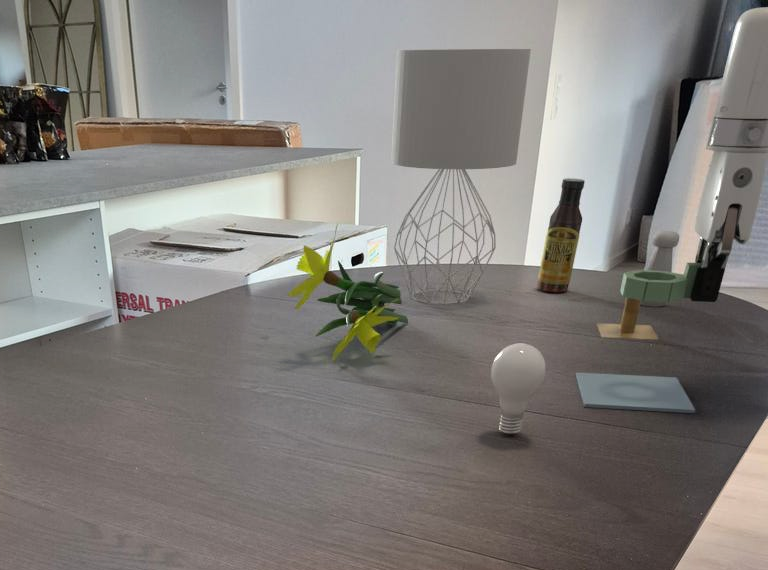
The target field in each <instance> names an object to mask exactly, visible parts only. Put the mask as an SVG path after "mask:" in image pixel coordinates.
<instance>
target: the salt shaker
mask: <svg viewBox="0 0 768 570" xmlns="http://www.w3.org/2000/svg"><path fill="white" fill-rule="evenodd" d="M679 242H680V234H679V233H678V232H677V231H674V230H660V231H657V232H656V233H654V235H653V238H652V245H653V246H654V248H653V250H652V254H651V257H650V259H649V261H648V264H647V266H646V269H645V270H656V271H667V272H672V271H673V249H674V248H676V247H677V246H678V245H679ZM672 273H673V272H672ZM666 304H667V302H649V301H641V303H640V306H645V307H652V308H656V307H664V306H665V305H666Z"/></svg>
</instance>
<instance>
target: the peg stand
mask: <svg viewBox="0 0 768 570" xmlns="http://www.w3.org/2000/svg"><path fill="white" fill-rule="evenodd" d="M624 301H625V302H624V306H623V311H622V316H621V319H620V323H599V322H597V323H596V326H597V329H598V331H599V334H600V336H601V338H610V339H611V338H612V339H613V338H614V339H635V340H637V339H638V340H656V341H657V340H659V341H660V339H659V337H658V335H657V333H656V331H655V330H654V328H653V327H652V325H650V324H648V325H647V324H637V322H638V317H639V312H640V309H641V305H640V303H641V301H640V300H636V299H631V298H627V297H625V300H624Z"/></svg>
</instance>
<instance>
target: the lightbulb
mask: <svg viewBox="0 0 768 570" xmlns="http://www.w3.org/2000/svg"><path fill="white" fill-rule="evenodd" d="M546 374H547V363H546V360H545V357H544V355H543V354H542V353H541V351H540V350H539V349H538V348H536V347H535V346H533V345H532V344H528V343H522V342H520V343H519V342H518V343H513V344H510V345H507V346H506V347H504V348H502V349H501V350H500V351H499V352H498V353H497V355H496V356H495V358H494V360H493V362H492V364H491V369H490V377H491V378H490V379H491V382H492V385H493V387H494V390H495V392H496V393H497V395H498V400H499V409H500V419H499V421H500V422H499V426H498V427H499V428H498V430H499V431H500V432H501V433H502V434H504V435H505V436H509V437H510V436H514V435H517V434H518V433H520V432H521V431H522V426H523V425H522V424H523V420H524V419H523V418H524V413H525V411H526V410H527V408H528V405H529V403H530V401H531V399H532V397H533V396H534V395H535V394H536V393H537V391H538V390H539V389H540V388H541V386H542V385H543V383H544V381H545V378H546Z"/></svg>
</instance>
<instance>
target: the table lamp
mask: <svg viewBox="0 0 768 570" xmlns="http://www.w3.org/2000/svg"><path fill="white" fill-rule="evenodd" d="M531 51H532V48H468V49H467V48H462V49H460V48H458V49H457V48H455V49H454V48H453V49H452V48H451V49H450V48H449V49H445V48H444V49H399V50H396V63H395V81H394V83H395V84H394V101H393V116H392V117H393V119H392V137H391V139H392V140H391V155H390V164H392V165H394V166H399V167H406V168H412V169H413V168H415V169H429V170H431V169H432V170H437V171H436V172H435V173H434V175H433V176H432V177H431V179H430V181H429V182H428V183H427V185H426V186H425V187H424V189H423V190H422V192H421V193H420V195H419V196H418V198H417V199H416V200H415V202H414V203H413V204H412V206H411V208H410V209H409V210H408V212H407V213H406V214H405V216H404V218H403V220H402V222H401V225H400V227H399V229H398V231H397V234H396V238H395V242H394V247H393V249H394V253H395V256H396V259H397V261H398V265H399V268H400V270H401V273H402V276H403V279H404V281H405V284H406V287H407V290H408V292H409V296H410V298H412V299H413V300H415V301H417V302H420V303H425V304H431V305H432V304H433V305H456V304H461V303H464V302H467V301H468V302H469V299H470V297H471V296H472V294H473V292H474V290H475V288H476V287H477V285H478V283H479V281H480V279H481V277H482V275H483V274H484V272H485V270H486V268H487V266H488V264H489V263H490V260H491V258H492V257H493V254H494V252H495V250H496V233H495V228H494V225H493V224H494V223H493V221H492V217H491V214H490V213H489V211H488V209H487V208H486V205H485V203H484V202H483V199H482V198H481V196H480V194H479V192H478V190H477V189H476V186H475V185H474V182H473V180H472V179H471V178H470V176H469V175H470V174H468V172H467V170H486V169H500V168H508V167H513V166H516V165H517V160H518V153H519V144H520V138H521V137H520V136H521V128H522V123H523V122H522V121H523V114H524V104H525V97H526V90H527V81H528V74H529V68H530V67H529V66H530V57H531ZM445 170H446V171H445ZM444 171H445V174H444V177H443V180H442V184H441V187H440V190H439V193H438V197H437V200H436V203H435V206H434V209H433V213H432V216H431V217H430V218H428V219H426V221H424V222H422V224H420V222H421V219H422V216H423V213H424V210H425V209H426V207H427V205H428V202H429V201H430V199H431V197H432V195H433V193H434V191H435V189H436V187H437V185H438V184H439V181H440V179H441V177H442V175H443V173H444ZM451 171H452V216H451V215H450V214H449V213H448V212H447V211H446V210H444V206H445V201H446V196H447V192H448V186H449V180H450V176H451ZM455 171H456V178H457V184H458V191H459V197H460V203H461V204H460V205H461V210H462V223H460V222H459V221H458V220H456V219H455ZM447 174H448V175H447ZM462 174H463V175H462ZM459 176H460V177H459ZM463 177H464V178H463ZM446 178H447V181H446V185H445V192H444V197H443V202H442V205H441V206H442V207H441V209H440V210H439V211H438V212H437V213H436V210H437V207H438V203H439V201H440V197H441V194H442V191H443V188H444V184H445V180H446ZM460 179H461V182H462V186H463V189H464V193H465V196H466V200H467V203H468V207H469V209H470V214H471V217H472V219H470V220H469V221H468V222H467V223H466V224H465V211H464V204H463V197H462V190H461V185H460V183H461V182H460ZM464 179H465V182H466V184H467V187H468V189H469V191H470V194H471V196H472V198H473V201H474V203H475V206H476V208H477V210H478V213H477V214H476V215H475V216H474V213H473V210H472V206H471V203H470V199H469V195H468V192H467V188H466V185H465V182H464ZM432 182H433V184H432ZM431 184H432V185H431ZM430 185H431V187H430ZM429 187H430V189H429V190H428V193H427V194H426V196H425V198H424V199H423V201H422V203H421V205H420V207H419V208H418V210H417V212H416V214H415V215H414V217H413V216H412V214H411V213H412V211H413V210H414V208H415V207H416V206H417V204H418V203H419V201H420V199H422V197H423V196H424V194H425V192H426V191H427V189H428V188H429ZM428 196H429V197H428ZM478 204H479V205H478ZM479 206H480V208H481V210H482V212H483V214H484V215H483V214H482V212H481V210H480V208H479ZM421 209H422V210H421ZM420 211H421V212H420ZM419 213H420V216H419V219H418V222H416V220H415V219H416V218H417V217H418V214H419ZM443 213H444V214H445V215H446V216H447V217H449V218H450V219H452V222H451V223H450V224H449V225H447V226H446V227H445V228H443V229H441V226H442V225H441V224H442V218H443ZM439 214H440V219H439V224H438V225H439V226H438V233H436V234H435V235H434V236H433V237H431V238H429V235H430V232H431V227H432V224H433V219H434V217H436V216H437V215H439ZM478 216H479V217H480V222H481V227H482V229H481V232H480V233H479V236H478V232H477V225H476V220H475V219H476V218H477V217H478ZM484 216H485V217H484ZM409 217H410V219H411V221H410V222H409V223H408V224H407V225H406V223H407V221H408V219H409ZM429 221H430V224H429V227H428V232H427V236H426V237H425V235H424V234H423V232H422V230H421V229H420V228H421V227H422V226H424V225H425V224H426V223H428V222H429ZM472 222H473V226H474V232H475V238H474V237H473V236H471V235H470V234H469V233H468V232H467V231H465V228H466V227H467V226H469V224H470V223H472ZM413 225H414V226H415V229H416V230H415V236H414V241H413V242H412V245H411V247H410V250H409V252H408V255H407V257H406V247H407V242H408V238H409V235H410V232H411V230H412V227H413ZM486 225H487V227H488V228H489V232H490V237H491V249H490V251H488V252H487V253H486V254H484V255H483V256H482V257H481V258H480V259H479V257H480V255H481V252H482V251H483V248H484V245H485V227H486ZM409 226H410V227H409ZM451 226H452V241H451V249H449V251H446V252H445V253H444V254H443V255H442V256H441V257H439V253H440V250H439V249H440V235H441V233H443V232H444V231H446V230H447V229H448V228H449V227H451ZM455 226H456V227H457V228H458V229H459V230H461V231H462V240H460V242H458V243H457V244H456V245H454V243H455V242H454V241H455V240H454V239H455ZM408 227H409V229H408V232H407V235H406V237H405V241H404V247H403V250H402V247H401V240H402V239H401V238H402V234H403V231H405V229H406V228H408ZM418 231H419V233H420V235H421V237H422V238H423V240H424V241H425V246H423V245H422V244H421V243H420V242H419V241H418V240H417V234H418ZM465 235H467V236H468V237H469V238H470V239H472V240H473V242H474V243H476V255H475V256H474V257H473V255H472V254H471V252H470V250H469V248H468V246H467V244H466V242H465ZM436 237H437V258H436V256H435V255H433V254H432V253H431V252H430V251H429V250H428V249H427V248H428V243H429V242H430V241H432V240H433V239H435V238H436ZM481 237H482V245H481V248H480V250H479V241H480V239H481ZM398 238H399V239H398ZM397 242H398V247H399V250H400V253H399V252H398V250H397V248H396V246H397ZM417 244H418V245H419V247H421V248H422V249H423V250H424V256H423V257H422V258H421V259H419V253H418V247H417V246H418V245H417ZM459 245H461V246H460V249H459V254H458V259H457V262H456V267H455V271H454V272H453V273H451V268H452V263H453V255H454V249H456V248H457V247H458V246H459ZM414 246H415V254H416V259H417V263H416V265H415V266H413V268H411V270H410V268H409V265H408V260H409V258H410V255H411V253H412V250H413V248H414ZM463 246H465V249H466V250H467V252H468V254H469V256H470V260H469V261H467V262H466V263H465V264H463V265H461V267H459V263H460V259H461V254H462V249H463ZM450 252H451V257H450V263H449V269H448V275H447V273H445V272H444V269H443V268H442V265H441V263H440V260H442V259H443V258H444V257H445V256H447V255H448V254H449V253H450ZM400 254H401V255H400ZM427 254H429V255H430V256H431V257H432V258H433V259H435V260H436V262H435V263H434V262H433V261H431V259H429V258H428V257H427ZM489 254H490V255H489ZM488 255H489V258H488V259H487V261H486V263H485V265H484V267H483V269H482V265H481V261H482V260H483V259H484V258H486V257H487V256H488ZM422 261H424V273H425V286H424V283H423V277H422V272H421V266H420V263H421V262H422ZM427 261H428V262H429V263H430V264H432V266H433V268H432V271H431V273H430V275H429V277H428V271H427ZM471 262H473V264H472V266H471V267H470V269H468V271H467V272H466V273H465V274H464V275H463V276H462V277H461V278H460V280H458V282H457V283H456V284H455V279H456V275H457V273H458V272H459V271H460V270H461V269H463V268H465V267H466V266H467V265H469V264H470V263H471ZM401 263H402V264H401ZM477 264H478V266H479V269H480V272H481V273H480V274H479V275H478V277H477V278H476V279H475V280H474V275H475V271H476V266H477ZM402 265H403V267H404V270H405V273H404V270H403V267H402ZM416 267H418V271H419V279H420V283H419V282H418V280H417V279H416V277H415V276H414V274H413V273H412V272H413V271H414V270H415V269H416ZM458 267H459V268H458ZM435 269H436V289H429V281H430V279H431V278H432V275H433V273H434V271H435ZM439 271H440V273H441V274H442V275H443V277H444V279H445V280H444V282H443V283H442V284H441V285H440V286H439V288H438V284H439ZM450 273H451V274H450ZM405 275H406V276H405ZM467 275H468V277H467ZM452 276H453V279H452V281H451V277H452ZM465 277H467V279H466V281H465V283H464V287H463V289H462V291H457V290H456V291H455V288H456V287H457V286H458V285H459V284H460V283H461V282H462V281H463V279H464V278H465ZM471 277H472V278H471ZM470 279H471V281H470ZM469 281H470V287H469V288H468V289H467V290H466V288H467V286H468V284H469ZM473 281H474V282H473ZM413 282H414V283H413ZM445 284H446V287H445V289H442V287H443V286H445ZM454 284H455V285H454ZM414 285H416V287H417V288H418V289H419V291H416V289H415V286H414ZM448 288H449V289H448ZM465 291H466V292H465ZM430 292H435V293H434V294H433V295H432V297H431V299H430ZM438 292H445V293H444V299H443V302H435V301H433V299H434V298H435V296H436V295H437V294H438ZM425 293H427V296H426V294H425ZM447 293H453V294H454V298H455V299H456V301H455V302H452V301H451V302H446V298H447ZM467 293H468V294H467ZM418 294H422V295H423V297H424V299H425V300H420V299H418V296H417V295H418ZM457 294H460V296H459V299H458V296H457ZM464 297H467V298H466V299H464ZM463 299H464V300H463Z"/></svg>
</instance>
